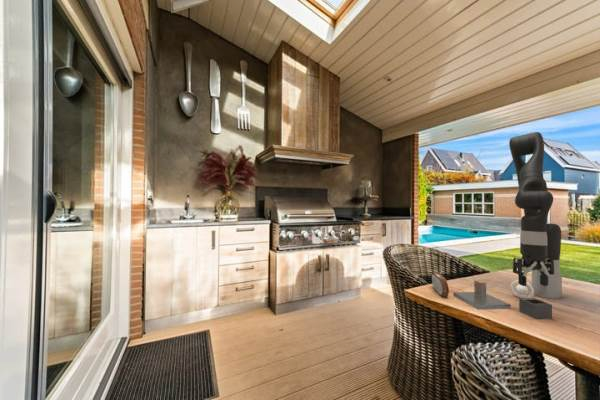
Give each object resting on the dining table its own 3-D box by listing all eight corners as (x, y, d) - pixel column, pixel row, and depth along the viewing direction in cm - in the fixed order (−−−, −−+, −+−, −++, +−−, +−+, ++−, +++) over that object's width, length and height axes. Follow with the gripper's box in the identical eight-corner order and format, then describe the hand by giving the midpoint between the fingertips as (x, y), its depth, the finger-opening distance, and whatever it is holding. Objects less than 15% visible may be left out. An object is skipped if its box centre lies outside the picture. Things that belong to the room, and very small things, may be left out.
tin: (449, 299, 107) (449, 280, 108) (441, 298, 108) (441, 279, 108) (437, 287, 122) (437, 270, 122) (430, 287, 123) (430, 270, 123)
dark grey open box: (519, 311, 96) (519, 297, 96) (534, 310, 96) (534, 297, 96) (536, 318, 89) (535, 304, 89) (552, 318, 90) (552, 304, 90)
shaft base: (482, 295, 112) (482, 276, 112) (510, 308, 98) (510, 286, 98) (453, 295, 111) (453, 276, 111) (477, 309, 97) (477, 287, 98)
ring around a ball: (535, 300, 107) (535, 281, 107) (531, 303, 103) (531, 284, 103) (511, 294, 113) (511, 277, 113) (507, 297, 110) (507, 279, 110)
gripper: (540, 241, 97) (540, 282, 97) (506, 241, 97) (506, 282, 96) (561, 244, 90) (561, 288, 90) (525, 244, 89) (525, 288, 89)
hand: (533, 285), depth 93 cm, fingers open, 8 cm apart
